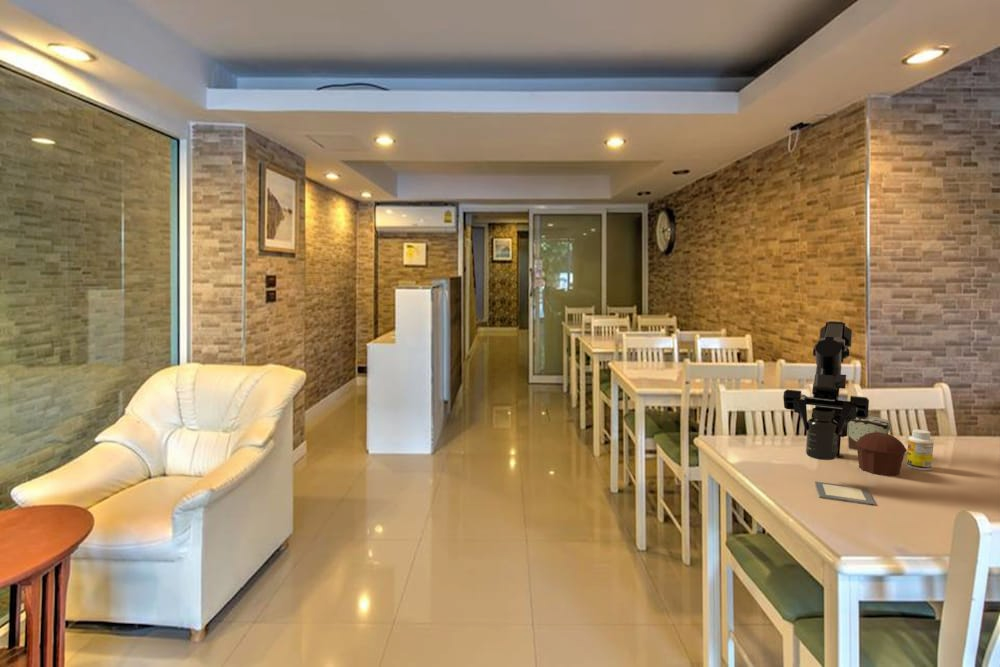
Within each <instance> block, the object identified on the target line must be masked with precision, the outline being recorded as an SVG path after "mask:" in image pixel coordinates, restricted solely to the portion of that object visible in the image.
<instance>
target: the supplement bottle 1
mask: <svg viewBox="0 0 1000 667" xmlns="http://www.w3.org/2000/svg"><path fill="white" fill-rule="evenodd" d="M812 416H813V418H809V419H807V431H806V439H805V440H806V445H805V454H806V455H807V456H808V457H809V458H812V459H815V460H818V461H819V460H821V461H833V460H835V459H837V458H838V457H837V447H838V435H837V431H838V423H837V422H836V421H834V420H833V418H834V417H835V416H834V410H833V409H829V408H821V407H817V408H815V407H813V408H812V410H811V417H812Z"/></svg>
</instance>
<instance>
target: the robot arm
mask: <svg viewBox="0 0 1000 667" xmlns="http://www.w3.org/2000/svg"><path fill="white" fill-rule="evenodd" d="M852 338H853V330H852V329H851V328H849V327H848V326H846V322H844V321H834V320H833V321H831V320H829V321H826V322H825V325H824V326H823V327H821V328H820V330H819V339H818V340H817V343H815V344H814V346H813V349H812V355H813V357H815V365H816V368H815V374H814V382H813V384H812V392H811V393H812V396H807V395H805V394H802V390H800V389H799V390H797V389H788V388H787V389H786V390H784V391H783V397H782V399H783V406H784V409H786V410H791V411H793V412H794V413H796V414H798V416H799V417H800V420H801V422H802V424H803V428H804V431H806V432H807V422H808V412H807V410H808V409H807V405H809V406H815V407H814V408H817V407H821V408H829V409H833V410H834V416H835V417H834V418H833V420H834V421H836V422H837V423H838V431H837V435H838V447H837V457H836V458H843V457H844V456H845V455H844V454H842V453H840V452H841V440H842V439H841V438H844V437H848V430H847V426H848V422H849V421H850V420H851V419H856V417H859V418H867V417H868V416H869V409H870V408H869V407H870V399H869V398H868V397H867V396H856V395H850V399H849V400H839V397H840V389H844V390H845V389H846V384H847V374H843V373H842V364H843V363H844V360H847V358H848V357H849V356H850V353H851V350H850V349H849V348H851V347H852ZM811 418H813V416H812V415H811ZM811 418H810V419H811Z"/></svg>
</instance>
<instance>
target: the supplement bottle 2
mask: <svg viewBox="0 0 1000 667" xmlns="http://www.w3.org/2000/svg"><path fill="white" fill-rule="evenodd" d="M934 443H935V442H934V440H933V439H932V438H931V432H930V431H929V430H926V429H925V430H924V429H917V428H915V429H912V434H911V435H910V436H909V437H908V440H907V451H906V453H907V454H906V455H907V456H906V466H907V467H909V468H911V469H913V470H916V469H918V471H930V470H931V469H932V467H933V466H932V465H933V457H934V456H933V454H934Z"/></svg>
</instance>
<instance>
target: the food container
mask: <svg viewBox="0 0 1000 667" xmlns="http://www.w3.org/2000/svg"><path fill="white" fill-rule="evenodd" d="M892 429H893V428H892V424H891V421H890V420H888V419H885V418H881V417H876V416H869V415H868V417H867V418H859V417H856V419H851V420H850V421H849V422H848V426H847V446H848V447H847V449H848V448H849V449H848V450H851V449H853V450H852V451H855V450H857V446H856V442H857V441H858V440H859V439H860V438H861V437H862V436H864V435H865V434H868V433H873V432H880V433H886V434H890V433H889V432H891V431H893V430H892Z"/></svg>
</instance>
